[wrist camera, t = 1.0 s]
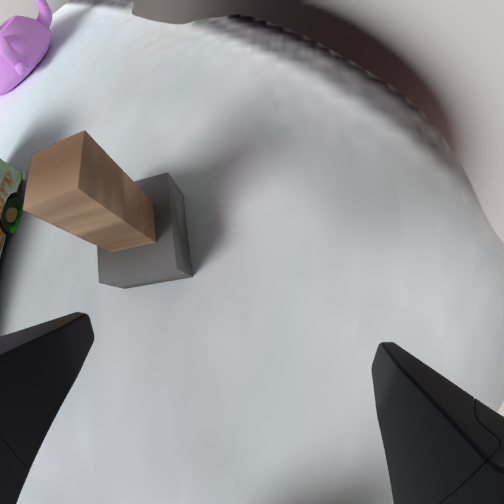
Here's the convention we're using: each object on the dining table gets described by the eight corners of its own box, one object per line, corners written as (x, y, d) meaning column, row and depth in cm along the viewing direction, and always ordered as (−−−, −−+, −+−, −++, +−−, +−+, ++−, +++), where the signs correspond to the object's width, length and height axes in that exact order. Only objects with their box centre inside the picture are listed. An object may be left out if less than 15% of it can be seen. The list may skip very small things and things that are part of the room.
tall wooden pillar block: (192, 276, 22) (101, 228, 9) (124, 288, 22) (4, 257, 10) (183, 194, 24) (112, 90, 11) (120, 209, 24) (24, 133, 11)
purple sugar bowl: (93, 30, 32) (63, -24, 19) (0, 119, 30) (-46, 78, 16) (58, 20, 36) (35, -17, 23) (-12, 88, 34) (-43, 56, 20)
